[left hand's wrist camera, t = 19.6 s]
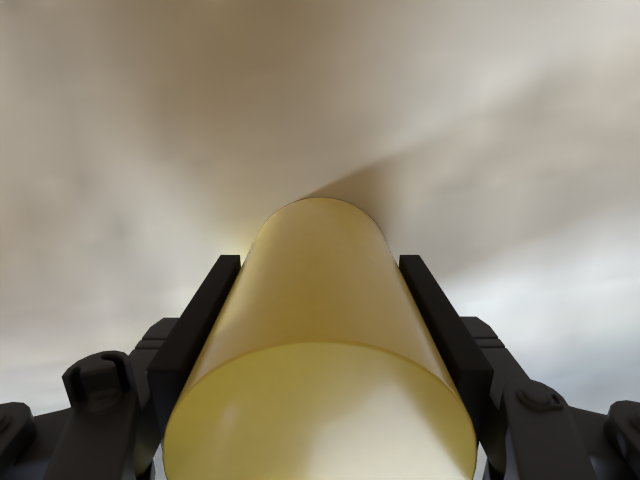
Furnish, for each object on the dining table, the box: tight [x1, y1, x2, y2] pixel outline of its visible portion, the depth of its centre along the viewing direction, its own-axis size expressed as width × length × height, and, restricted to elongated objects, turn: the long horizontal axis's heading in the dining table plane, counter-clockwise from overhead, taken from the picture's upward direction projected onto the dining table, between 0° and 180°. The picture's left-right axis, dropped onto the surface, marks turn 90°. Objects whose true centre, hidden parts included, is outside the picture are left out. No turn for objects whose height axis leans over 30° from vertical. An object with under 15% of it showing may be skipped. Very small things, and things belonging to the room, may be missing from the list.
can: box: [163, 197, 477, 480], centre depth 12 cm, size 6×6×10 cm
